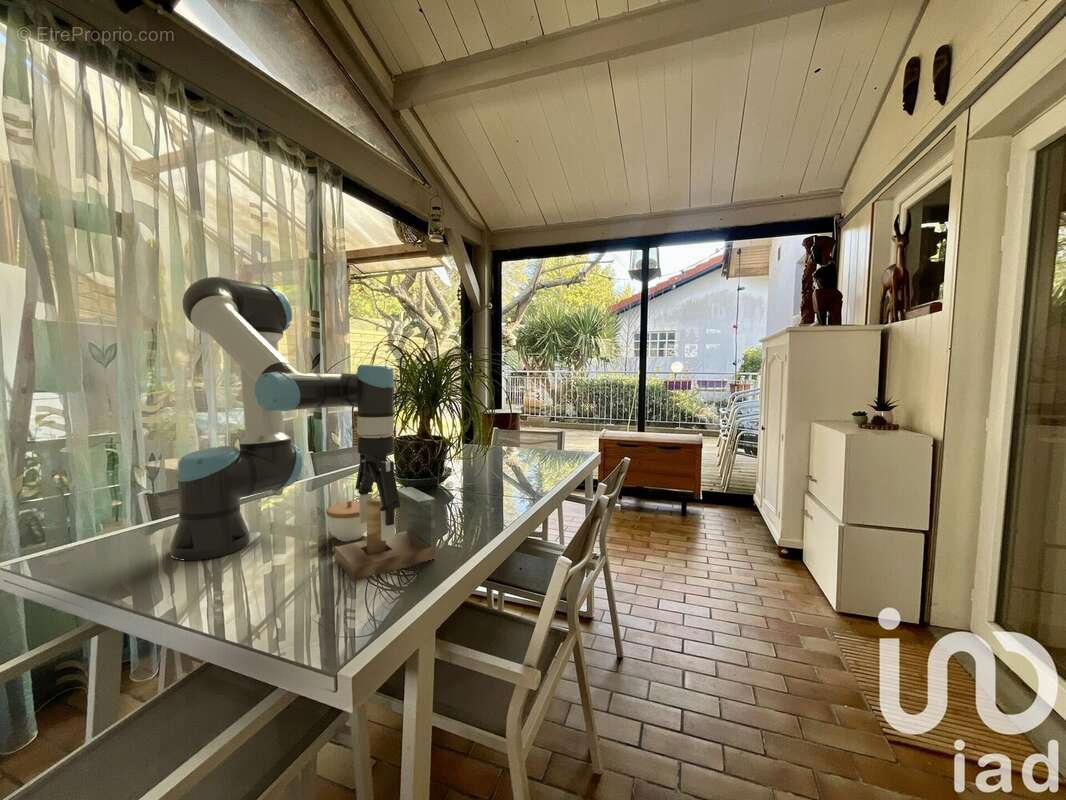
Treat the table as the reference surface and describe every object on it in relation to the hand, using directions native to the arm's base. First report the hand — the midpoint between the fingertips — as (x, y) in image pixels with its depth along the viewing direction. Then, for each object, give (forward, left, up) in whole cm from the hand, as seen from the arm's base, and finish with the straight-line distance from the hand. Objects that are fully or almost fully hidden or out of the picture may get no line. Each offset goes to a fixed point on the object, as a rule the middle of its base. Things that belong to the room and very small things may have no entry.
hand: (376, 530), depth 98 cm
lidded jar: (0, +19, -7) cm, 20 cm away
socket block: (+2, 0, -7) cm, 7 cm away
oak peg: (0, 0, -7) cm, 7 cm away
